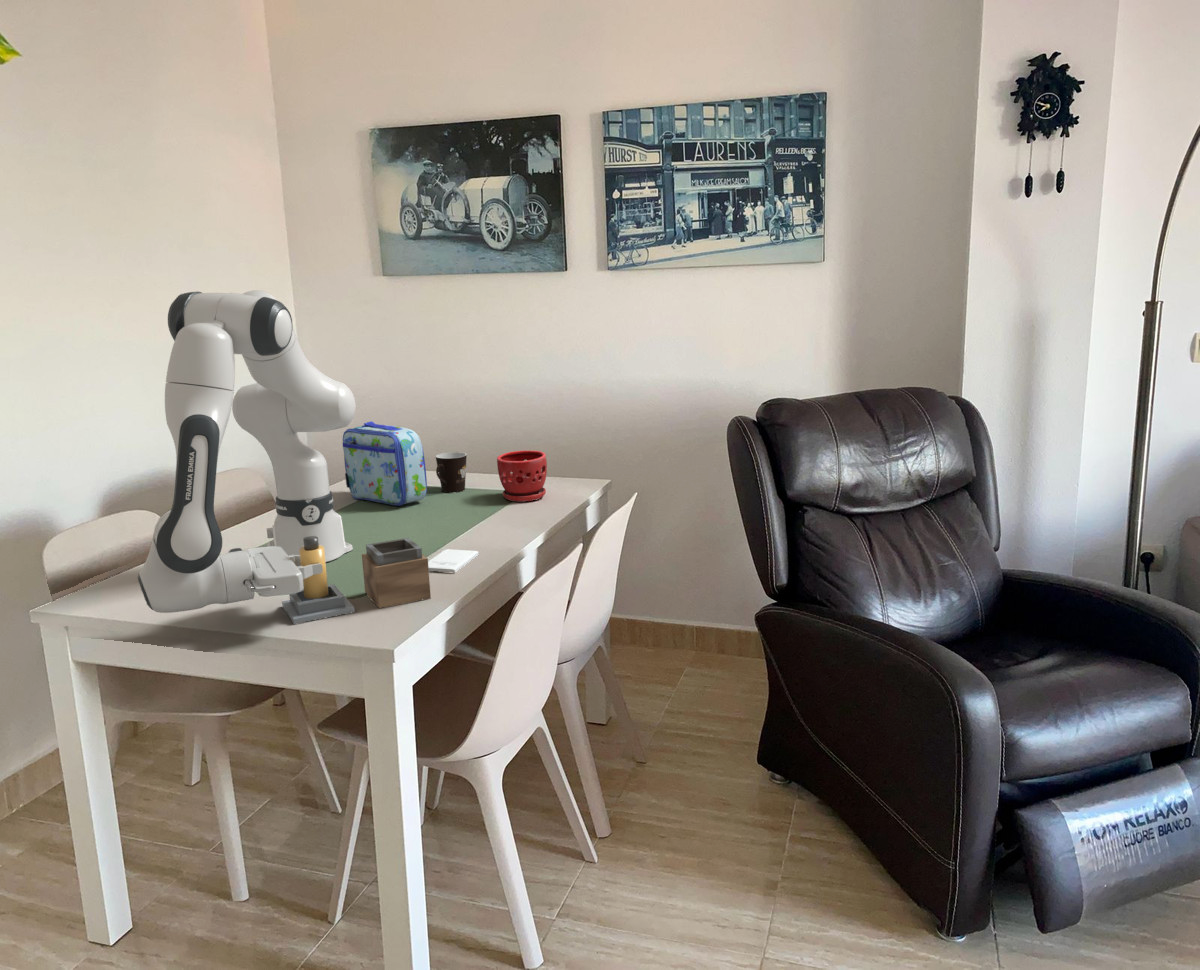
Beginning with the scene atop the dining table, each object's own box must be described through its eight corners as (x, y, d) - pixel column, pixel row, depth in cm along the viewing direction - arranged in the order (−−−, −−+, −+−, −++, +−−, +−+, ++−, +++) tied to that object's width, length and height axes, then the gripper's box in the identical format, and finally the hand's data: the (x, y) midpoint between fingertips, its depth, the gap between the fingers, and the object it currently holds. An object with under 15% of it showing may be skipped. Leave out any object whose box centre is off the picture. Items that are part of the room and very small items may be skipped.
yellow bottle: (301, 593, 181) (295, 537, 179) (325, 589, 183) (320, 533, 181) (306, 600, 178) (300, 542, 175) (330, 595, 180) (325, 538, 177)
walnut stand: (365, 593, 189) (360, 544, 187) (414, 583, 194) (410, 536, 191) (379, 608, 181) (374, 557, 178) (430, 598, 185) (426, 548, 183)
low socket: (282, 606, 183) (280, 591, 183) (340, 595, 188) (338, 580, 188) (294, 624, 174) (292, 608, 173) (354, 612, 179) (353, 597, 178)
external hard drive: (479, 558, 211) (455, 576, 200) (444, 555, 214) (419, 573, 202) (478, 550, 211) (454, 568, 199) (444, 548, 213) (418, 566, 202)
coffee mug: (457, 485, 278) (455, 450, 275) (474, 489, 271) (472, 454, 269) (422, 492, 270) (420, 457, 268) (440, 497, 264) (437, 461, 262)
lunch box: (341, 497, 267) (334, 423, 262) (373, 490, 275) (367, 417, 270) (399, 511, 250) (392, 432, 245) (432, 503, 258) (426, 425, 253)
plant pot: (502, 493, 267) (500, 450, 264) (550, 492, 266) (548, 449, 263) (496, 505, 254) (493, 460, 251) (545, 504, 253) (543, 459, 250)
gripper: (247, 575, 164) (329, 561, 170) (229, 546, 181) (304, 534, 187) (251, 610, 165) (332, 595, 171) (233, 578, 183) (308, 565, 189)
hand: (318, 563), depth 179 cm, fingers closed on yellow bottle, 4 cm apart
